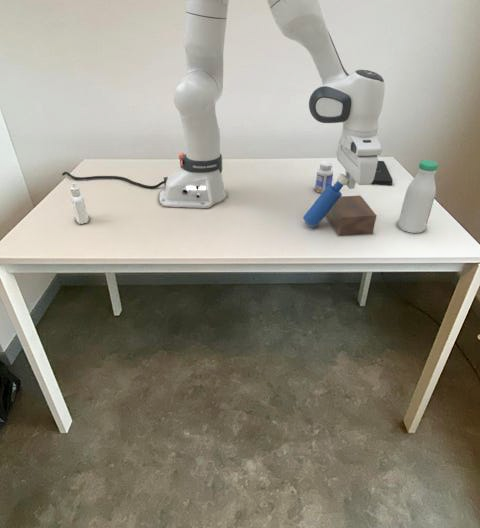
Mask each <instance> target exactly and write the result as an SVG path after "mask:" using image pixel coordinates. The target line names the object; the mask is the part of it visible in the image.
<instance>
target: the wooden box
mask: <svg viewBox="0 0 480 528" xmlns="http://www.w3.org/2000/svg"><path fill="white" fill-rule="evenodd" d="M325 216H327V218H328V220H329V221H330V224H332V226H333V228H334V230H335V232H336V233H337V234H338V236H355V235H356V236H357V235H373V233H374V231H375V230H374V229H375V225H376V220H377V214H376V213H375V212H374V210H373V209H372V208H371V206H370V205H369V204H368V203H367V202H366V201H365V199H364V198H363V197H362V195H341V197H340V198H339V199H338V200H337V202H336V203H335V204H334V205H333V207H332V208H331V209H330V210H329V212H328V213H327V214H326V215H325Z"/></svg>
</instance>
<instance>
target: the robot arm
mask: <svg viewBox="0 0 480 528" xmlns="http://www.w3.org/2000/svg"><path fill="white" fill-rule="evenodd" d="M229 2H230V0H185V8H184V9H185V11H184V12H185V13H184V27H183V48H184V50H185V51H184V53H185V58H186V60H185V61H186V74H185V76H184V77H182V78H181V79H179V81H178V82H177V84H176V87H175V89H174V91H173V92H174V93H173V103H174V106H175V108H176V110H177V111H178V113H179V118H180V122H181V125H182V130H183V136H184V145H185V146H184V147H185V149H184V150H185V153H184V152H180V153H179V154H178V160H179V165H180V166H179V167H178V168H177V169H176V170H174V171H173V172H172V173H170V174H169V175H168V176H163V181H160V182H159V183H158V184H155V185H147V184H143V183H141V182H138V181H134V180H131V179H129V178H127V177H124V176H118V175H92V176H74V175H73V174H71V173H70V172H68V171H63V172H62V174H61V176H65V175H67V176H68V177H70V178H71V179H72V180H81V181H82V180H83V181H85V180H94V179H95V180H96V179H117V180H123V181H126V182H128V183H130V184H133V185H136V186H139V187H142V188H144V189H145V188H146V189H156V188H159V187H160V186H162V185H163V186H164V187H163V188H162V189H161V190H160V191H159V202H160V204H161V205H162V206H163V207H169V208H170V207H171V208H196V209H209V208H211V207H212V206H213V205H216V204H218V203H220V202H222V201H224V200H225V199H226V197H227V192H226V189H225V185H224V180H223V156H222V153H221V130H220V127H219V123H218V119H217V113H216V104H217V102H218V101H219V99H220V98H221V96H222V94H223V91H224V90H223V89H224V50H225V49H224V48H225V38H226V29H227V19H228V11H229V10H228V9H229ZM266 2H267V4H268V7H269V11H270V13H271V15H272V18H273V20H274V22H275V24H276V25H277V27H278V29H279V31H280V33H282V35H283V36H284V37H286V38H287V39H289V40H292V41H294V42H296V43H298V44H299V45H301V46H303V47H304V48H305V49H306V50H307V51H308V53H309V55H310V56H311V59H312V61H313V63H314V65H315V68H316V70H317V72H318V75H319V77H320V79H321V85H320V86H318V87H317V88H316V89H315V90H313V92H312V93H311V95H310V96H309V100H308V109H309V112H310V115H311V117H312V118H313V119H314V120H315V121H316V122H318V123H322V124H338V123H342V130H341V135H340V137H339V140H338V145H337V149H336V160H337V162H339V164H340V165H341V166H342V167H343V168H344V169H345V173H344V175H345V176H346V177H348V178H349V179H350V180H349V182H348V183H347V184H346V185H345V186H346V187H347V188H348V189H349V190H354V189H355V187H356V184H357V185H358V186H369V185H372V184H371V183H372V182H373V180H374V176H375V173H376V168H377V163H378V161H379V156H381V154H382V150H383V148H382V145H381V143H380V141H379V137H378V129H379V124H378V123H379V117H380V115H381V113H382V109H383V103H384V97H385V87H386V85H385V80H384V78H383V76H382V75H381V74H379V73H377V72H375V71H372V70H368V69H357V70H355V71H353V72H352V73H350V74H349V73H348V72H347V70H346V69H345V67H344V65H343V62H342V59H341V58H340V56H339V53H338V52H337V49H336V46H335V44H334V40H333V39H332V36H331V34H330V31H329V29H328V27H327V24H326V21H325V18H324V15H323V12H322V9H321V5H320V3H319V2H320V1H319V0H266Z"/></svg>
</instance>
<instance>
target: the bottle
mask: <svg viewBox="0 0 480 528" xmlns="http://www.w3.org/2000/svg"><path fill="white" fill-rule="evenodd" d="M349 180H350V179H349V178H348V177H346V174H345V173H340V174H339V176H338V177H337V178H336V182H335V183H334V184H332V185H328V186H327V187H326V188H325V190H324V191H323V192H322V193H320V195H319V196H318V197H317V198H316V200H315V201H314V202H313V204H312V205H311V206H310V208H309V209H308V210H307V212H306V213H304V215H303V217H302V219H303V221H304V222H305V223H307V225H308V226H310V227H312V228H317V227H318V225H319V224H320V223H321V222H322V220H323V219H324V218H325V217H326V216H327V215H326V214H327V213H328V212H329V210H330V209H331V208H332V207H333V205H334V204H335V203H336V202H337V200H338V199H339V198H340V197H341V196H343V193H342V192H341V190H342V188H343V187H345V186H347V185H346V184H347V183H348V182H349Z"/></svg>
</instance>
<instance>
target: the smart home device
mask: <svg viewBox="0 0 480 528" xmlns="http://www.w3.org/2000/svg"><path fill="white" fill-rule="evenodd" d="M393 181H394V180H393V178H392V175H391V172H390V171H389V169H388V167H387V164H386V162H385V161H384V160H378V163H377V168H376V173H375V176H374V180H373V182H372V183H371V184H370V185H377V186H379V185H380V186H392V185H393Z"/></svg>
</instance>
